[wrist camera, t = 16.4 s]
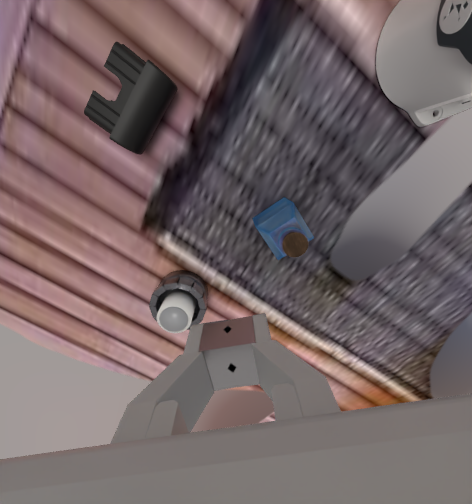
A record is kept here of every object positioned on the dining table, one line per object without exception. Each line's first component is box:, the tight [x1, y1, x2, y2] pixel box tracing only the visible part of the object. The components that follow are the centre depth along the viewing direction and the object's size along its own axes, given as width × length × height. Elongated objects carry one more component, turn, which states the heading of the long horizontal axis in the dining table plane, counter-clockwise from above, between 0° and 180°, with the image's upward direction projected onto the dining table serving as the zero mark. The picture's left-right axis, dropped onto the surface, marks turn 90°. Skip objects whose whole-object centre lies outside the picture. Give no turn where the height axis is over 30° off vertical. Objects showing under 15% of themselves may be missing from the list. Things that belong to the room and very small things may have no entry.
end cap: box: [84, 42, 177, 154], centre depth 31 cm, size 10×7×7 cm
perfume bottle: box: [252, 197, 314, 260], centre depth 34 cm, size 6×6×12 cm
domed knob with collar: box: [149, 270, 208, 330], centre depth 42 cm, size 9×9×5 cm
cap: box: [157, 288, 196, 333], centre depth 39 cm, size 5×5×5 cm
